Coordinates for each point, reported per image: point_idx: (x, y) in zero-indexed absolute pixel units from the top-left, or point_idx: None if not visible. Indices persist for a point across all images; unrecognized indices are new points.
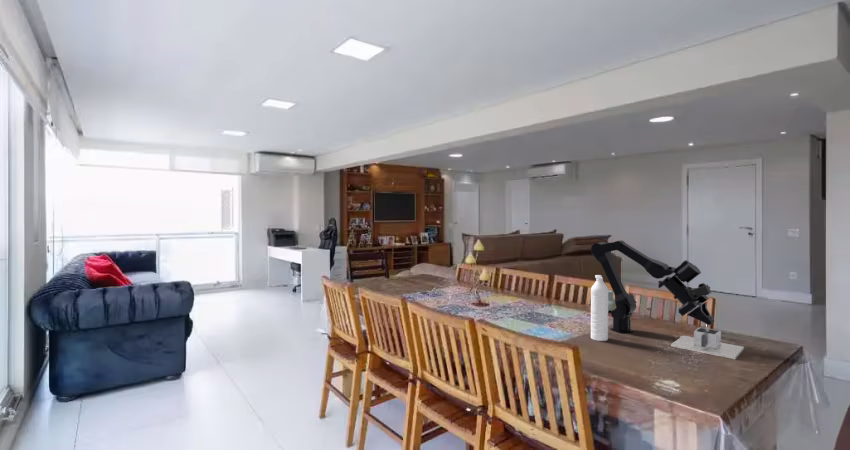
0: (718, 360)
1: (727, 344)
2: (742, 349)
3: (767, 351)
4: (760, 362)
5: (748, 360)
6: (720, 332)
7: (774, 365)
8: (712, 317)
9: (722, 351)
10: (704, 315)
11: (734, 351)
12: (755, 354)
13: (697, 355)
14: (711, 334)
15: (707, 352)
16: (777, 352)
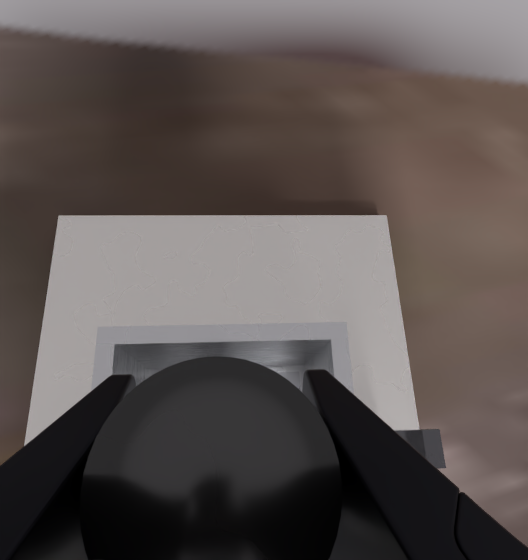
0: (494, 296)
1: (69, 322)
2: (128, 218)
3: (29, 112)
4: (318, 115)
5: (332, 165)
6: (122, 330)
7: (316, 62)
8: (234, 360)
9: (316, 306)
10: (474, 512)
11: (247, 243)
12: (160, 154)
13: (514, 443)
14: (349, 373)
15: (409, 395)
16: (15, 71)
